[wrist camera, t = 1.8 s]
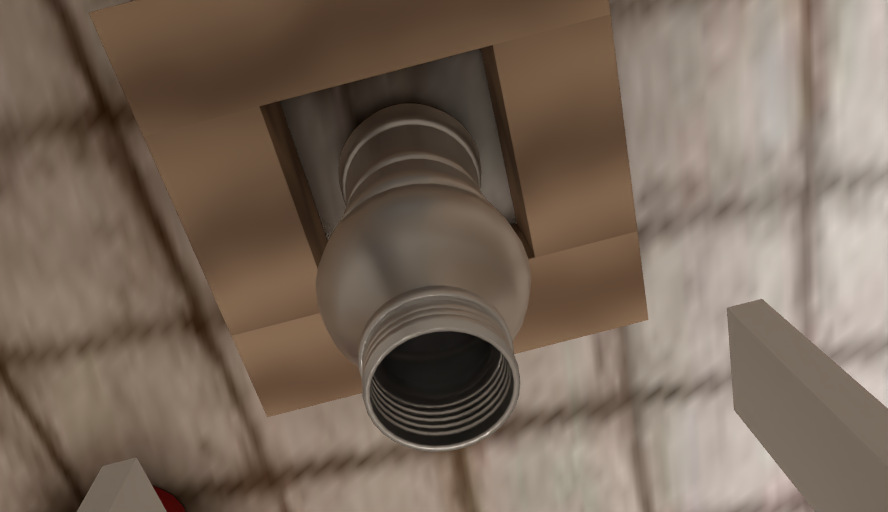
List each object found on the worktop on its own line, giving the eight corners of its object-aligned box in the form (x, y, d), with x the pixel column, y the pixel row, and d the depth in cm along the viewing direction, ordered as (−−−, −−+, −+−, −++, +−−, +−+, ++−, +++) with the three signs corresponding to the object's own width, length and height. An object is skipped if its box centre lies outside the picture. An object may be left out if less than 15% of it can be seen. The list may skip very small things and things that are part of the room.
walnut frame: (128, 5, 30) (88, 12, 25) (563, -110, 29) (593, -122, 25) (279, 367, 38) (267, 417, 34) (618, 280, 38) (648, 319, 33)
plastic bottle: (477, 210, 35) (585, 479, 17) (349, 224, 35) (319, 514, 17) (469, 87, 32) (587, 248, 14) (331, 101, 32) (271, 284, 14)
